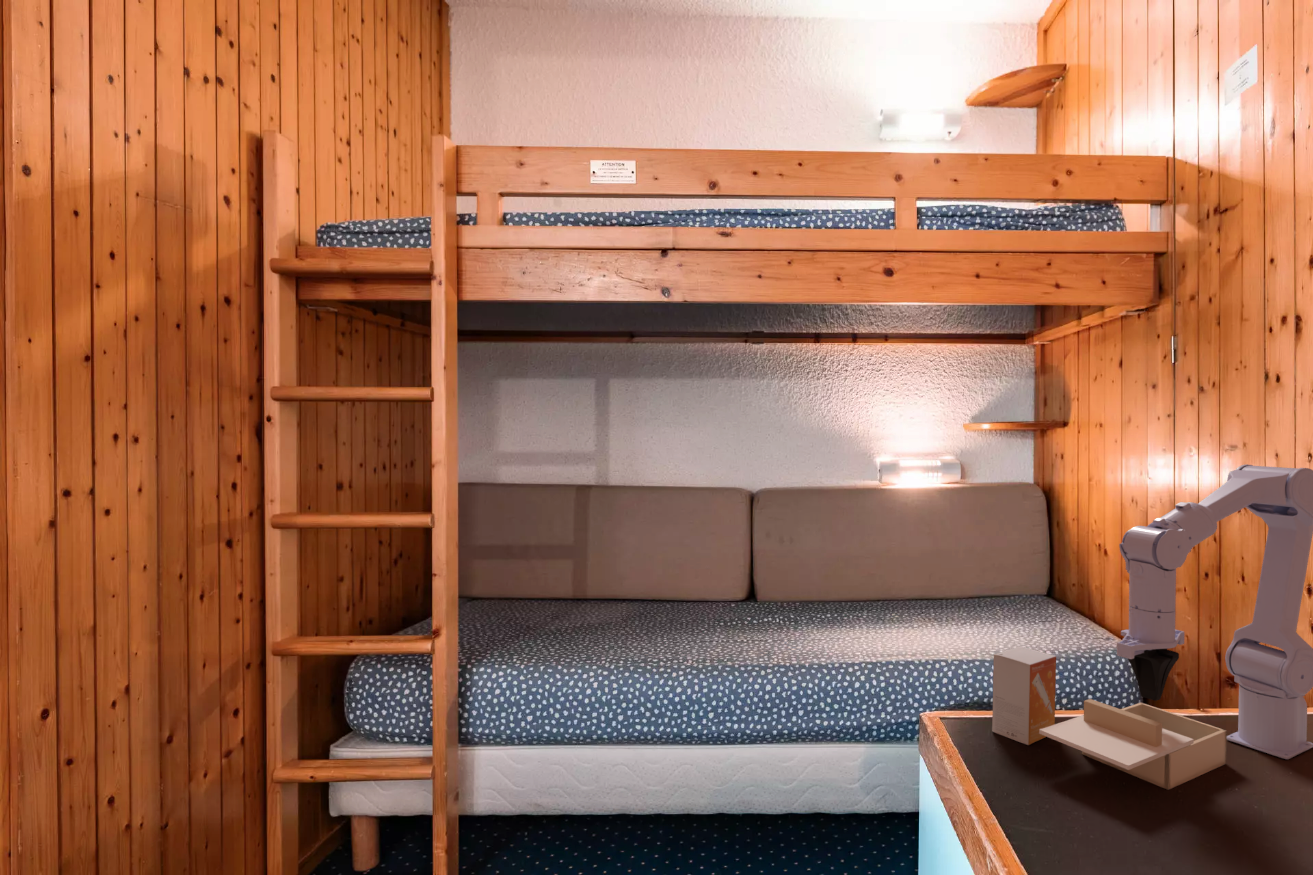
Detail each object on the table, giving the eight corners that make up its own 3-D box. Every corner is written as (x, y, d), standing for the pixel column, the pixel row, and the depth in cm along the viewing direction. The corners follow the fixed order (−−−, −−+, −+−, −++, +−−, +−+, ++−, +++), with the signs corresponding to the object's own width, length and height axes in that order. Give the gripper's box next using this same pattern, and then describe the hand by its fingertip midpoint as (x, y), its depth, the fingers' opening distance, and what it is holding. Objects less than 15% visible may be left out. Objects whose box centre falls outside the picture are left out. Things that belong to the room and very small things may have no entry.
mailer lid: (1104, 711, 113) (1104, 689, 113) (1193, 743, 102) (1194, 718, 102) (1039, 733, 105) (1039, 709, 105) (1128, 769, 94) (1128, 742, 94)
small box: (1029, 746, 112) (1030, 664, 112) (991, 731, 118) (992, 653, 117) (1056, 734, 117) (1057, 655, 117) (1018, 720, 122) (1019, 644, 122)
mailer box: (1140, 732, 117) (1140, 702, 117) (1226, 763, 107) (1226, 730, 107) (1081, 754, 110) (1082, 721, 110) (1168, 789, 99) (1168, 754, 99)
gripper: (1149, 595, 114) (1148, 680, 114) (1096, 607, 107) (1094, 697, 107) (1200, 605, 107) (1199, 695, 108) (1147, 619, 101) (1145, 714, 101)
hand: (1150, 697), depth 107 cm, fingers closed
